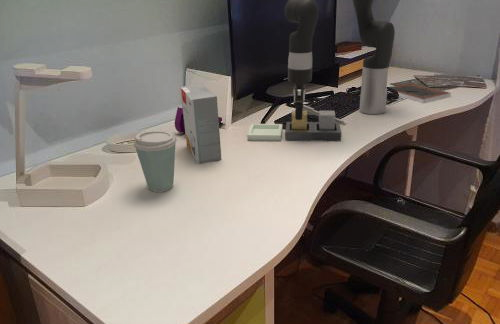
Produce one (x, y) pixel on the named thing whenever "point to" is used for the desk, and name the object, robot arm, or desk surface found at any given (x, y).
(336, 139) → the grey metal frame
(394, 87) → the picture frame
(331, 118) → the grey upright block
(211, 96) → the hard drive box
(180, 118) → the mounting bracket
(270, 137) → the parts tray
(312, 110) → the caliper
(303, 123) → the golden yellow block
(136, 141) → the disposable coffee cup
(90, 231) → the desk surface
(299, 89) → the robot arm
